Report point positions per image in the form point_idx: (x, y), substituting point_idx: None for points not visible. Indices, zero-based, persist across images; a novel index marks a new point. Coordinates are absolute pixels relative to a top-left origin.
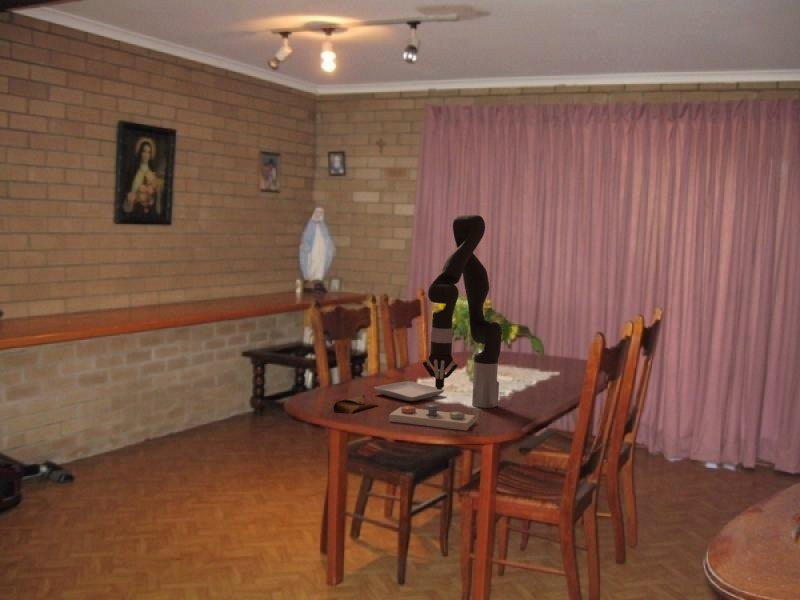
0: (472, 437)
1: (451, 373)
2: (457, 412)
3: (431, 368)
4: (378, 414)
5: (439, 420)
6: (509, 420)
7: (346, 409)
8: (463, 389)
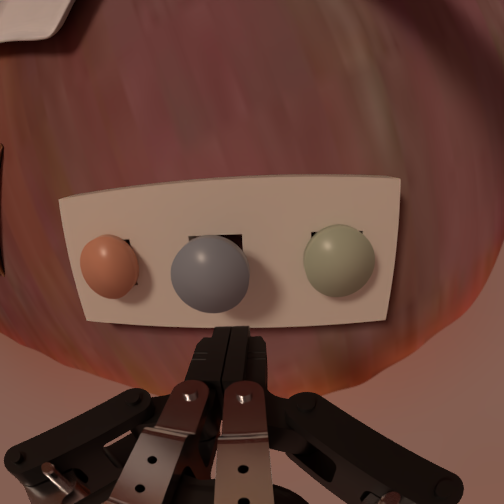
0: (397, 360)
1: (352, 428)
2: (338, 244)
3: (98, 449)
4: (38, 244)
5: (276, 326)
6: (476, 102)
7: None
8: None
